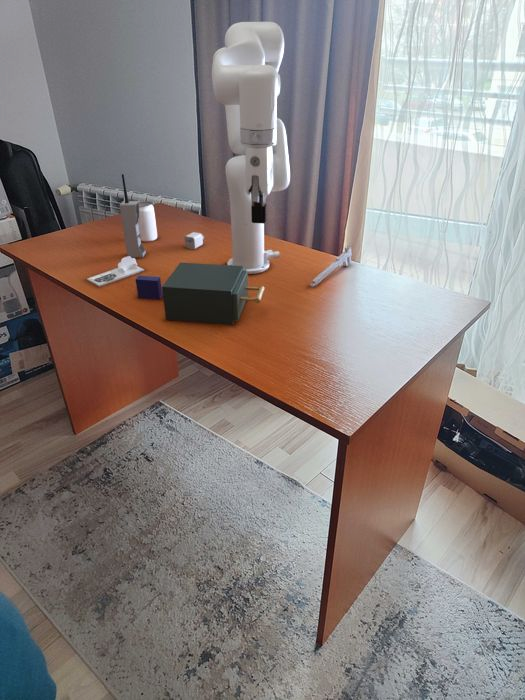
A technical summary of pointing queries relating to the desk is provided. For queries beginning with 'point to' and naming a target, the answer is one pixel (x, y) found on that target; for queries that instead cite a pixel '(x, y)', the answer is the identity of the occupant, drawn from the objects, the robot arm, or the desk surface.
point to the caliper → (334, 265)
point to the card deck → (149, 287)
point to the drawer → (243, 295)
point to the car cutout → (117, 272)
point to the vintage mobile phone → (131, 226)
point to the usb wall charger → (194, 240)
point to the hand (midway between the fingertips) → (259, 221)
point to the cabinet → (201, 293)
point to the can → (147, 221)
